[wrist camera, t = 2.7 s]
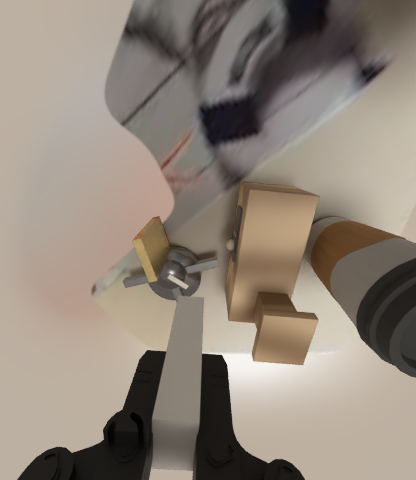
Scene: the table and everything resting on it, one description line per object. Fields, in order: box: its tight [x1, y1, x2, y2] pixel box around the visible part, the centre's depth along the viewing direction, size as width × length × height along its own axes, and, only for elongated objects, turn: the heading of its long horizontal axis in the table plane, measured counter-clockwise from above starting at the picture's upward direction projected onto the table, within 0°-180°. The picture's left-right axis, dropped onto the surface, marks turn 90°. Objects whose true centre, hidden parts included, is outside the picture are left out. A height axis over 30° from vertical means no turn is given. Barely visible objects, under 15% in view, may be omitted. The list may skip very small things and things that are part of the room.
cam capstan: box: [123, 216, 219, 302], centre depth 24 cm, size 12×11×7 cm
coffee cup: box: [304, 217, 416, 377], centre depth 20 cm, size 8×8×15 cm
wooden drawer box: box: [225, 182, 319, 365], centre depth 22 cm, size 14×7×11 cm, turn 175°
